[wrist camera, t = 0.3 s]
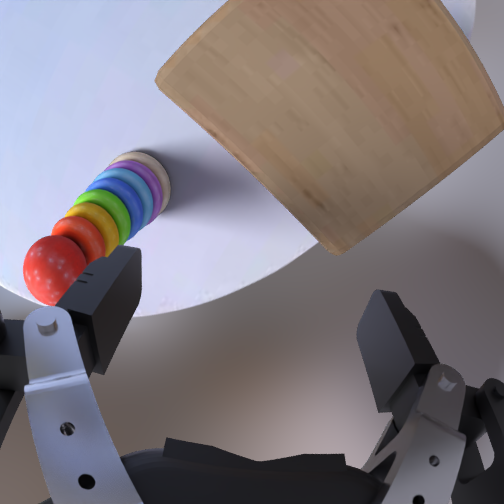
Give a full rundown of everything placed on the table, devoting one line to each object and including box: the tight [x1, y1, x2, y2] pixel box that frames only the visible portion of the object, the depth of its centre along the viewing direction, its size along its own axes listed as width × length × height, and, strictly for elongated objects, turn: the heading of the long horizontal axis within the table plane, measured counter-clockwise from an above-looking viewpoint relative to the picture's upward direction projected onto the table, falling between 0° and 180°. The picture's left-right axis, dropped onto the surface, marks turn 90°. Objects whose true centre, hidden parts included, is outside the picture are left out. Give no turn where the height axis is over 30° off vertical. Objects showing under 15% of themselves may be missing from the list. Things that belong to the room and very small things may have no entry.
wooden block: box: [155, 0, 504, 256], centre depth 17 cm, size 10×10×20 cm
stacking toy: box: [23, 152, 171, 306], centre depth 25 cm, size 8×8×19 cm
